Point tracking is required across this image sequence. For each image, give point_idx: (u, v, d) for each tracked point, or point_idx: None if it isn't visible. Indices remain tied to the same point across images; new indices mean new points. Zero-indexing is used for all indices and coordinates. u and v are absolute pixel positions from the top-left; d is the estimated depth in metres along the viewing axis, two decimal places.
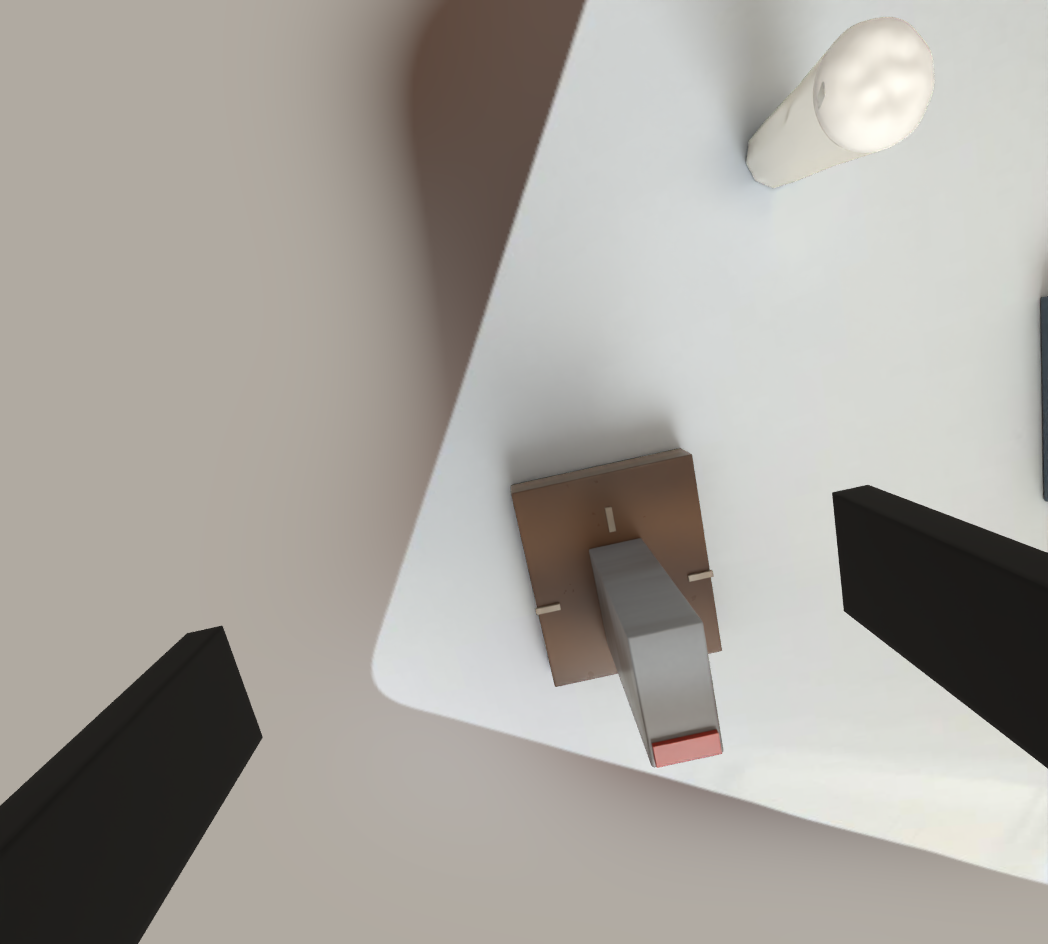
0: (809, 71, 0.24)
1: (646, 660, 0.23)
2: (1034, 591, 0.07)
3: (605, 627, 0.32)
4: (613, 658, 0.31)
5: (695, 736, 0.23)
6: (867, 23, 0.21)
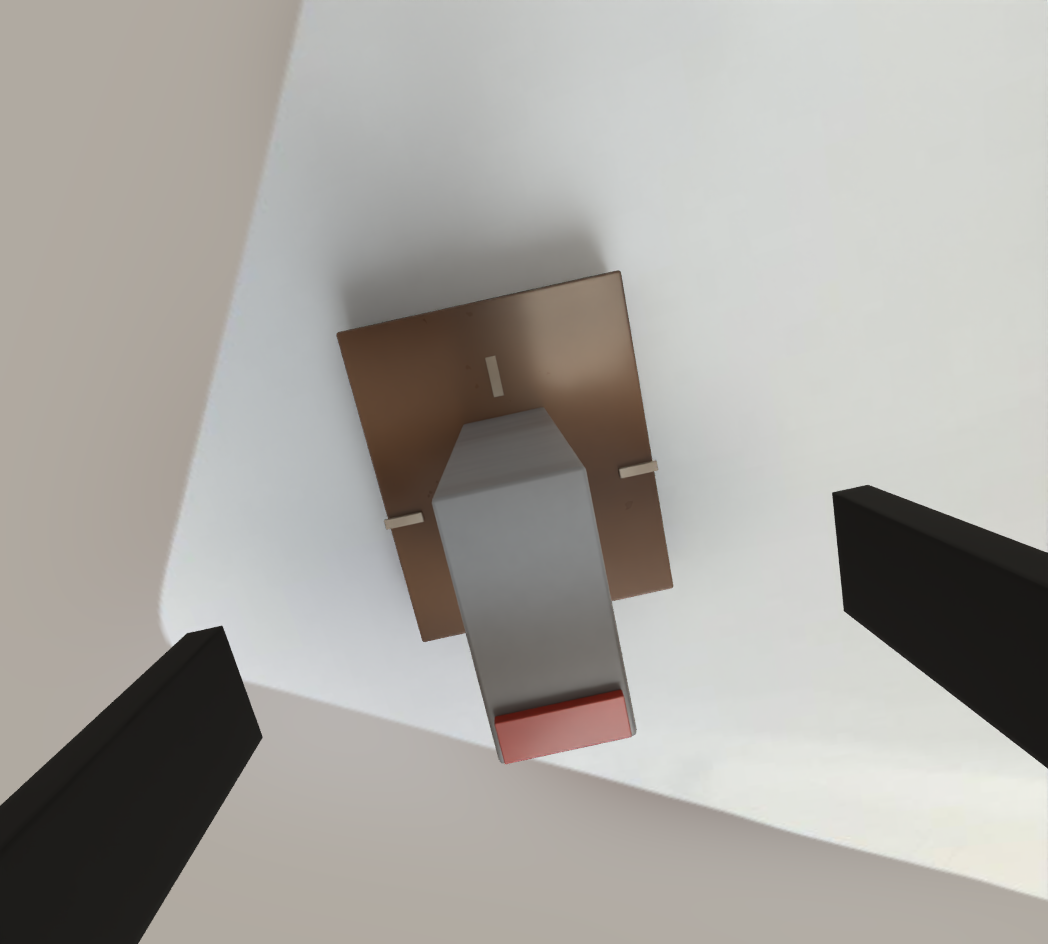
0: None
1: (473, 548, 0.11)
2: (1035, 591, 0.07)
3: None
4: None
5: (578, 703, 0.12)
6: None
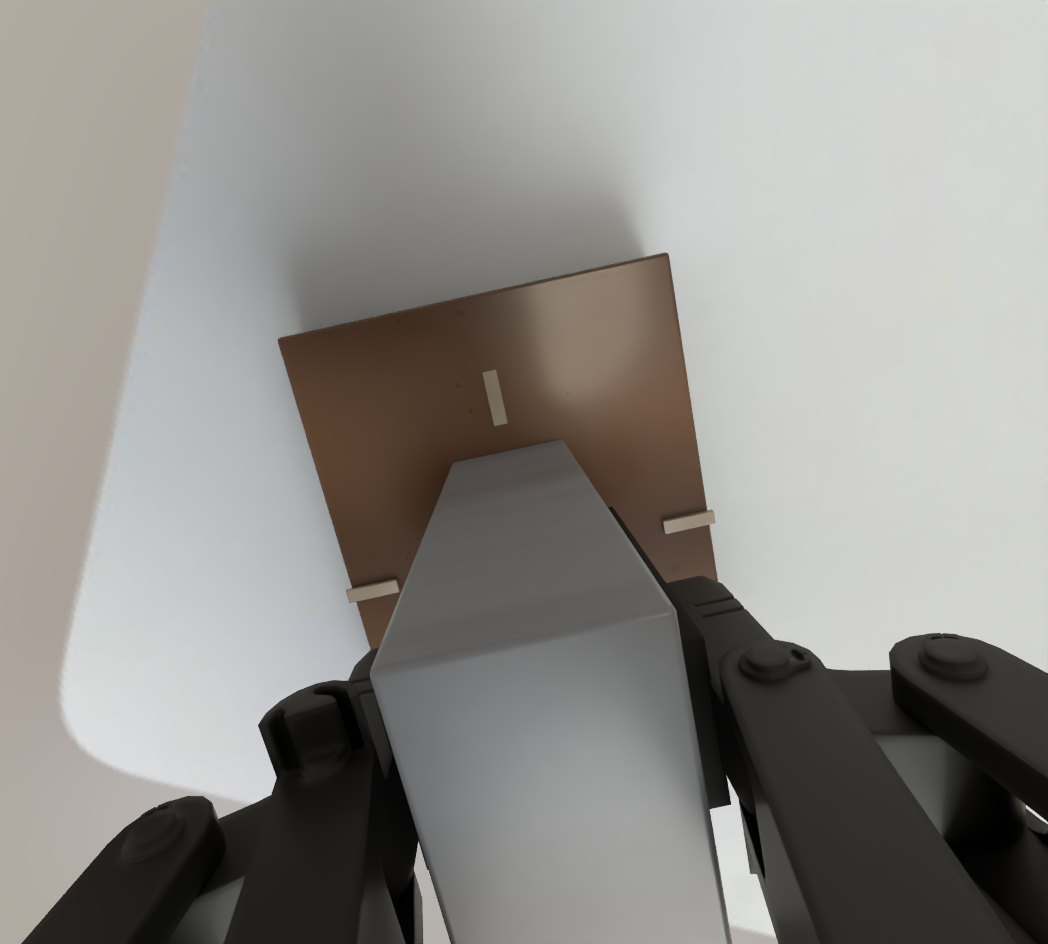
0: None
1: (452, 761, 0.06)
2: None
3: None
4: None
5: None
6: None
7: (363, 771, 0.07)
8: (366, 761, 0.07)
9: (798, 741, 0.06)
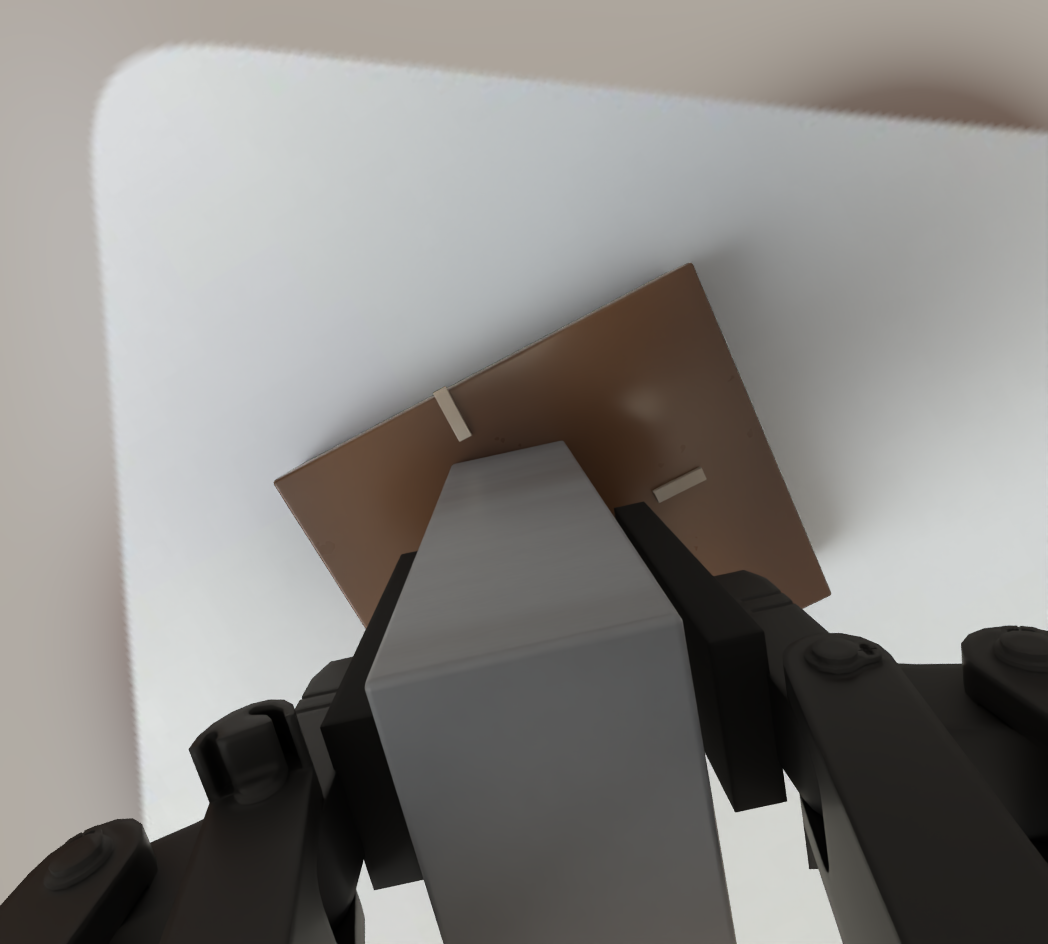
0: None
1: (450, 777, 0.05)
2: (669, 592, 0.10)
3: None
4: None
5: None
6: None
7: (300, 791, 0.07)
8: (303, 780, 0.07)
9: (869, 735, 0.06)
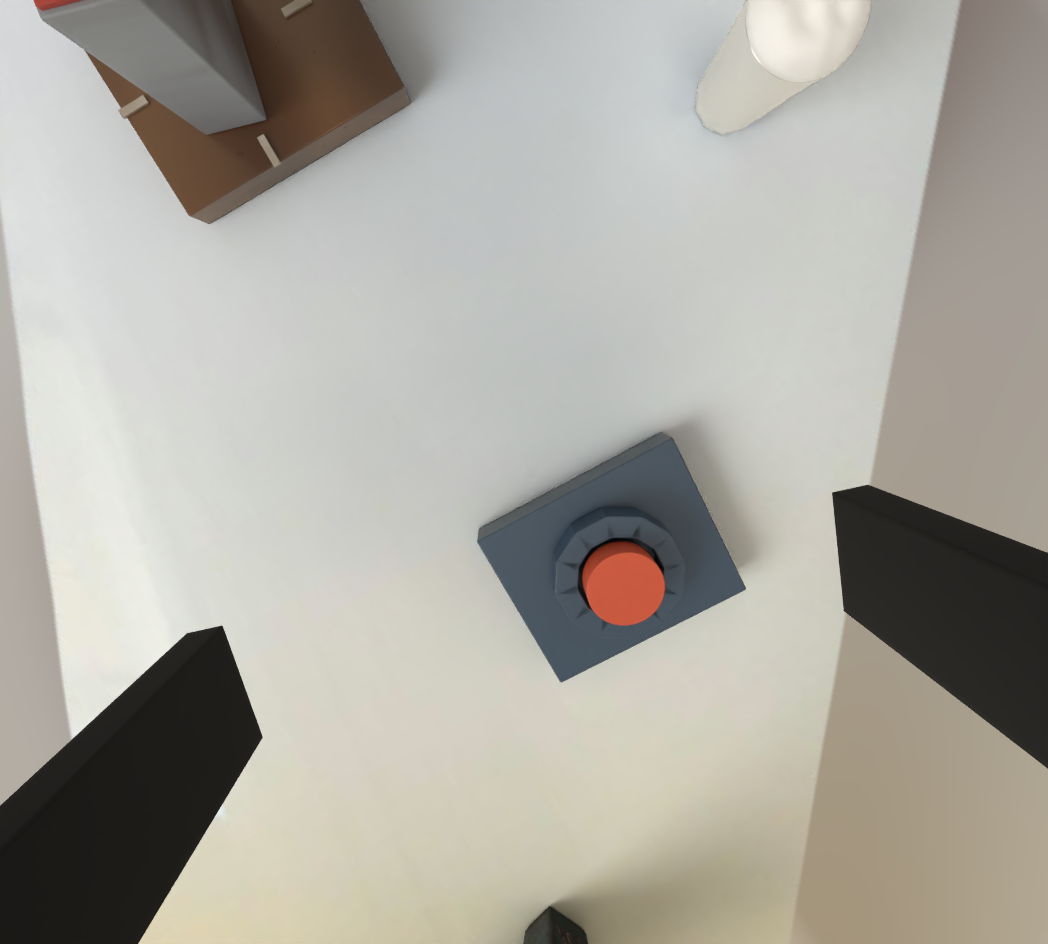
0: None
1: None
2: (1034, 591, 0.07)
3: None
4: None
5: None
6: None
7: None
8: None
9: None
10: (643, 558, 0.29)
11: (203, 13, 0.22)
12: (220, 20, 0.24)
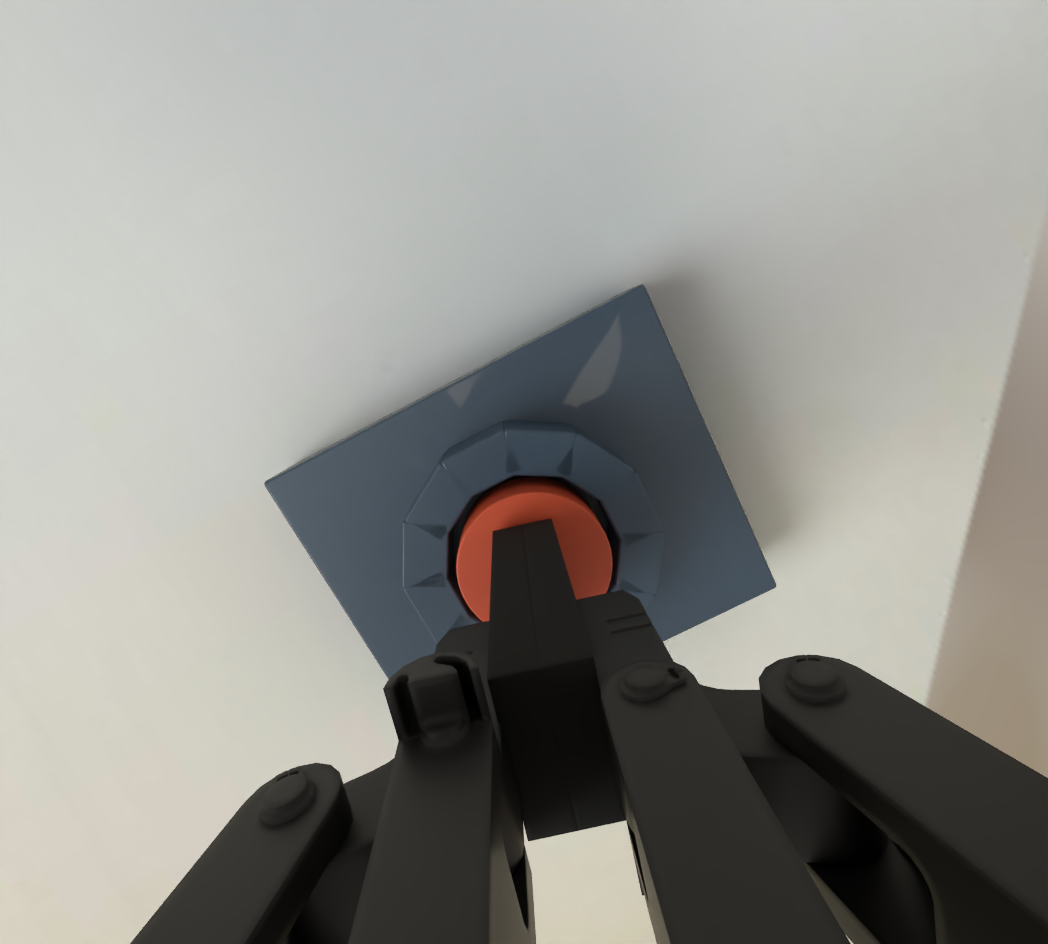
0: None
1: None
2: None
3: None
4: None
5: None
6: None
7: (482, 743, 0.07)
8: (484, 733, 0.07)
9: (670, 762, 0.06)
10: (568, 506, 0.14)
11: None
12: None
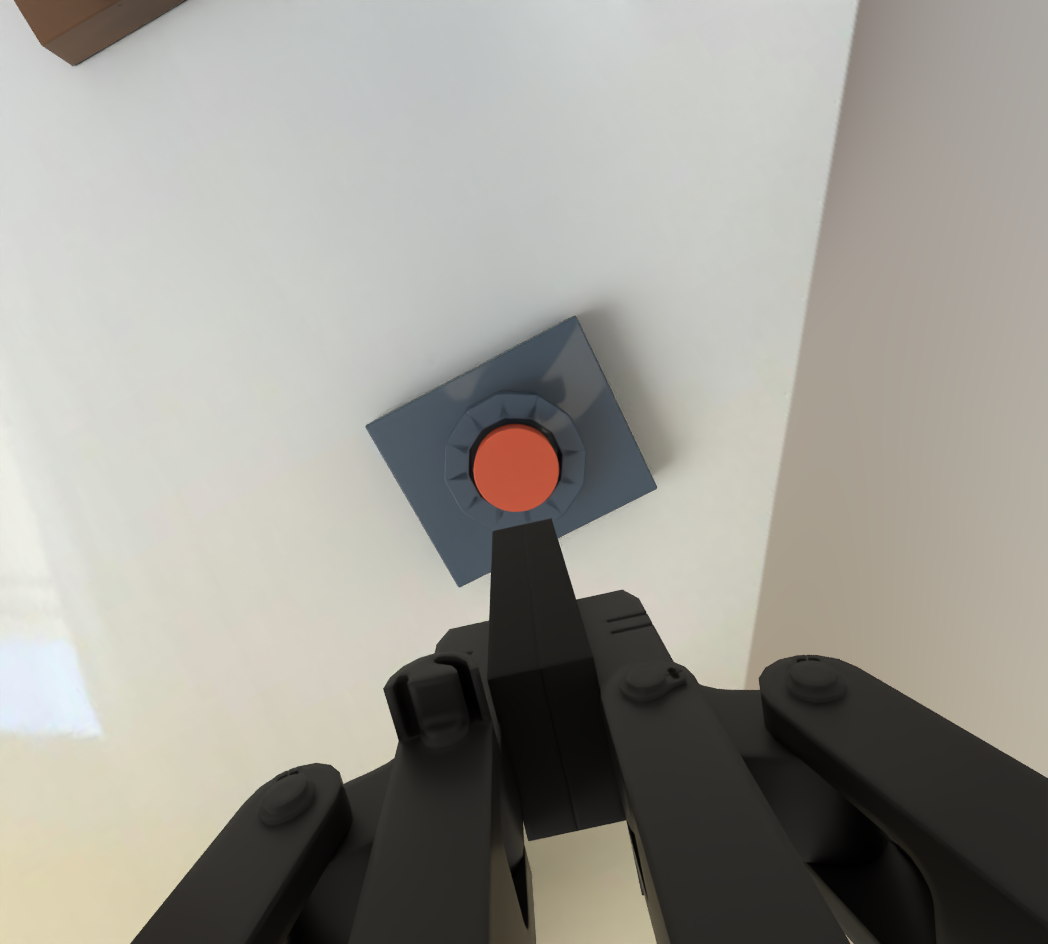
0: None
1: None
2: None
3: None
4: None
5: None
6: None
7: (483, 743, 0.07)
8: (485, 733, 0.07)
9: (669, 762, 0.06)
10: (534, 435, 0.27)
11: None
12: None
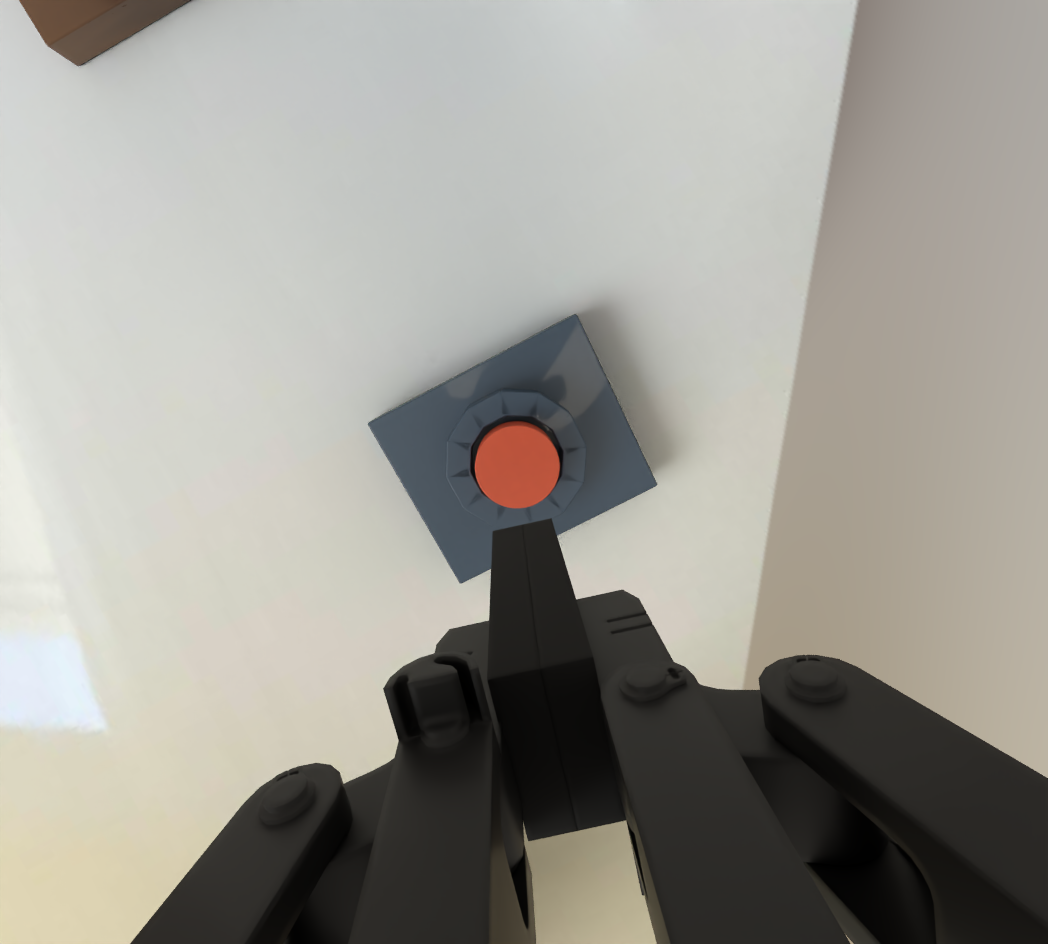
0: None
1: None
2: None
3: None
4: None
5: None
6: None
7: (483, 743, 0.07)
8: (485, 733, 0.07)
9: (670, 762, 0.06)
10: (535, 433, 0.27)
11: None
12: None
